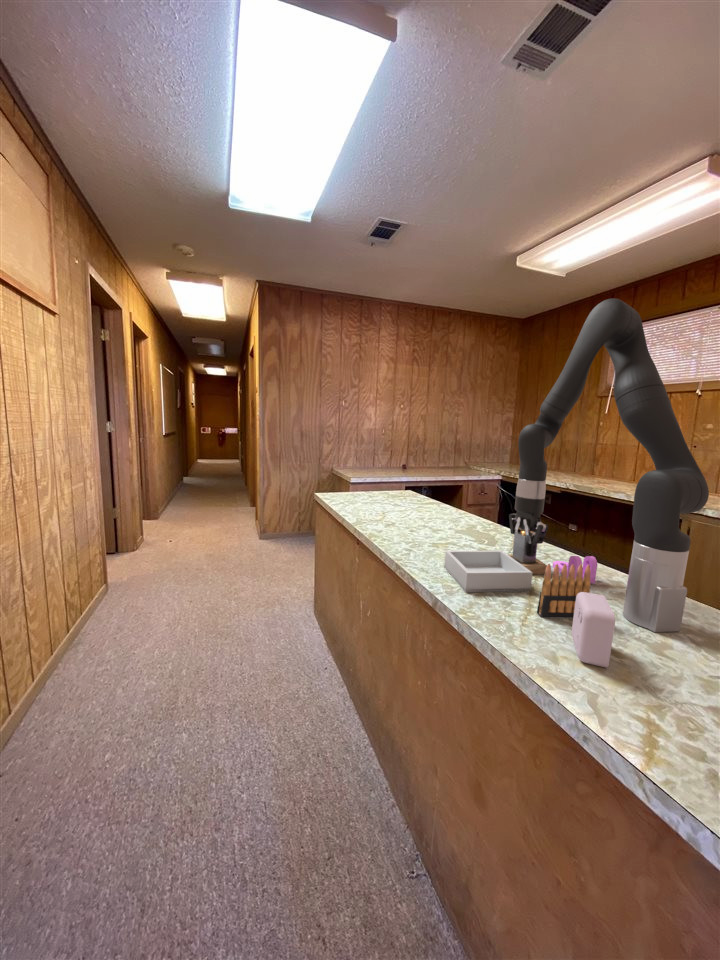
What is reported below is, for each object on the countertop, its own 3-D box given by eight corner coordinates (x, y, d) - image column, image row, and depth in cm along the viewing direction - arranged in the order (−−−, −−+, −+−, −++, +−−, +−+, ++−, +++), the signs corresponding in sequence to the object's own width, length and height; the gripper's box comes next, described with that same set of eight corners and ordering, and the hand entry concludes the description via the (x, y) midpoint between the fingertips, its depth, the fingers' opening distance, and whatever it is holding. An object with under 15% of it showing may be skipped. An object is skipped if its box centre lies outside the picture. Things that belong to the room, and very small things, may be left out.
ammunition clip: (583, 614, 85) (590, 563, 83) (588, 618, 83) (595, 566, 81) (536, 613, 84) (542, 561, 82) (540, 617, 82) (547, 565, 81)
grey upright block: (534, 566, 109) (538, 533, 107) (521, 567, 107) (525, 533, 106) (524, 560, 113) (527, 528, 111) (511, 561, 112) (515, 529, 110)
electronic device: (568, 635, 76) (574, 588, 74) (595, 640, 74) (602, 592, 73) (576, 664, 67) (584, 611, 65) (607, 671, 65) (615, 617, 63)
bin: (530, 591, 95) (532, 572, 94) (465, 592, 93) (467, 573, 93) (500, 566, 111) (501, 550, 110) (444, 567, 109) (445, 550, 108)
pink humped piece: (594, 583, 102) (598, 559, 101) (574, 583, 101) (577, 558, 100) (566, 565, 115) (569, 543, 113) (548, 565, 114) (551, 542, 113)
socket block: (546, 574, 107) (547, 565, 106) (516, 574, 106) (517, 565, 105) (529, 562, 116) (530, 554, 115) (501, 562, 115) (501, 554, 114)
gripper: (560, 500, 101) (553, 561, 104) (524, 490, 115) (518, 544, 117) (537, 500, 99) (530, 562, 102) (503, 490, 113) (498, 546, 115)
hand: (524, 552), depth 110 cm, fingers closed on grey upright block, 4 cm apart
